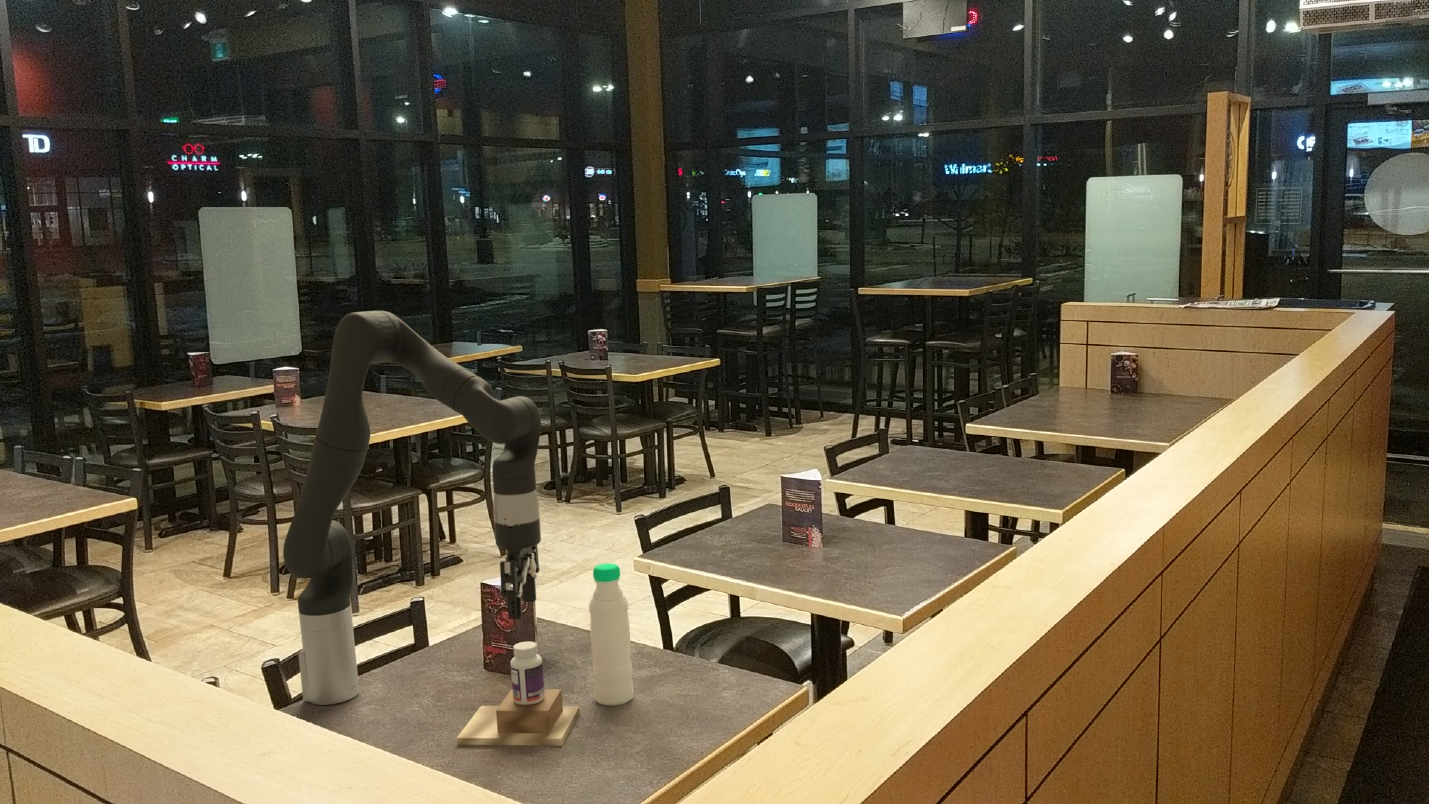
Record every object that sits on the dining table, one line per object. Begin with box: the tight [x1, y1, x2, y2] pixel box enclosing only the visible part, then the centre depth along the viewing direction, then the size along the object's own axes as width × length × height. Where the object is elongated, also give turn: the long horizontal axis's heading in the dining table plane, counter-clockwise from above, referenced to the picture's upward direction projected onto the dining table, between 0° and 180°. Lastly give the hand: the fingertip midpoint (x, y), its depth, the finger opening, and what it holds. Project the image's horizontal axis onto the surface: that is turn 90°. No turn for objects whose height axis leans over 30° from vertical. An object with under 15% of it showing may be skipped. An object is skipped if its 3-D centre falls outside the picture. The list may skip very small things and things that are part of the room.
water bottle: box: [588, 563, 635, 707], centre depth 208 cm, size 7×7×25 cm
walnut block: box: [496, 688, 563, 733], centre depth 198 cm, size 9×9×4 cm
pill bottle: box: [510, 641, 545, 705], centre depth 197 cm, size 5×5×10 cm
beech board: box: [456, 705, 581, 747], centre depth 199 cm, size 18×13×1 cm
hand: (522, 609), depth 195 cm, fingers open, 8 cm apart
